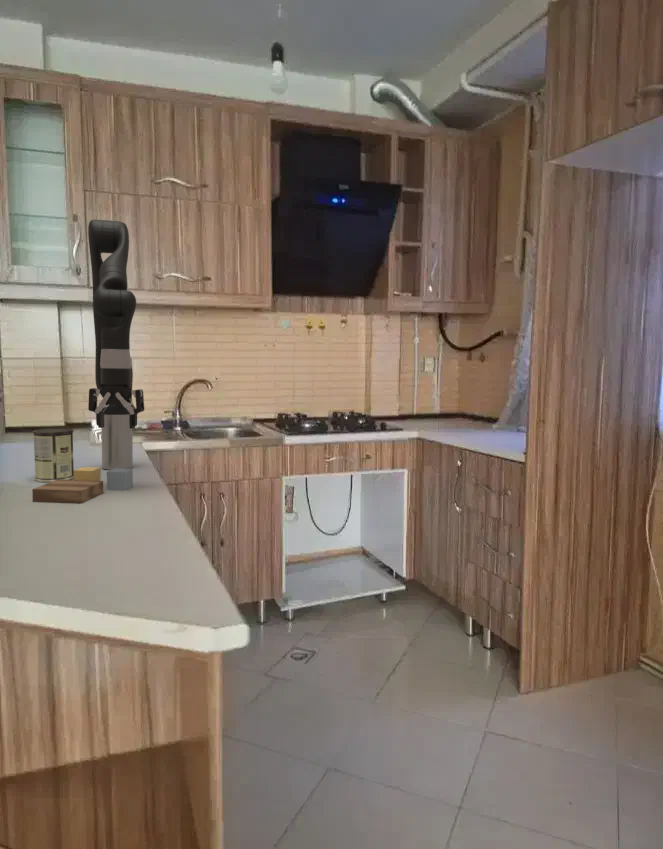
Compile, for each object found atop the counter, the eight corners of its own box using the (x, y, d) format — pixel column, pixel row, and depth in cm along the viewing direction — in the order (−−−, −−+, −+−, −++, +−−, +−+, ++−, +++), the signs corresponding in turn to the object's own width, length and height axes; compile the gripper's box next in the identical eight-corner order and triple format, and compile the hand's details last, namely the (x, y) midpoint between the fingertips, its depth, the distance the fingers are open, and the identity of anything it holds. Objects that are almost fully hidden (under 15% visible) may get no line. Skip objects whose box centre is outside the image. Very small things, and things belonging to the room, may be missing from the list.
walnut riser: (58, 490, 157) (58, 479, 157) (103, 492, 156) (102, 481, 156) (32, 501, 145) (32, 489, 145) (81, 503, 144) (81, 490, 144)
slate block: (115, 486, 165) (114, 468, 164) (132, 486, 164) (132, 468, 164) (107, 490, 160) (106, 471, 159) (125, 490, 159) (125, 472, 159)
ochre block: (82, 485, 165) (82, 467, 165) (100, 485, 165) (100, 467, 164) (74, 488, 160) (73, 470, 160) (92, 489, 160) (92, 471, 159)
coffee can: (47, 474, 178) (46, 427, 176) (80, 476, 177) (79, 428, 175) (26, 481, 168) (25, 431, 166) (61, 483, 167) (60, 432, 165)
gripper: (147, 367, 162) (148, 427, 163) (96, 366, 163) (97, 425, 164) (136, 367, 154) (137, 430, 156) (82, 366, 155) (84, 428, 157)
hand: (116, 428), depth 160 cm, fingers open, 8 cm apart
